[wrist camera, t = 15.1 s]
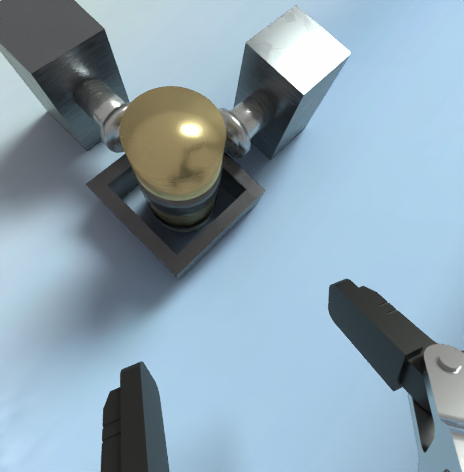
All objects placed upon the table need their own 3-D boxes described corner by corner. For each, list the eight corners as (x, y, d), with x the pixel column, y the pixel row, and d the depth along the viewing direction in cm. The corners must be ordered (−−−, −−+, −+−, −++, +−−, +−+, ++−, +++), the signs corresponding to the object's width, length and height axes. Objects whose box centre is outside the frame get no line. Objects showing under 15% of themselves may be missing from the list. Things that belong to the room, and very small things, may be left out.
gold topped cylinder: (183, 162, 24) (174, 66, 14) (227, 203, 23) (249, 133, 14) (137, 202, 22) (92, 127, 13) (183, 246, 22) (173, 204, 12)
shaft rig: (186, 18, 27) (181, -94, 19) (321, 141, 26) (374, 72, 18) (26, 124, 23) (-62, 33, 15) (179, 279, 21) (168, 267, 14)
